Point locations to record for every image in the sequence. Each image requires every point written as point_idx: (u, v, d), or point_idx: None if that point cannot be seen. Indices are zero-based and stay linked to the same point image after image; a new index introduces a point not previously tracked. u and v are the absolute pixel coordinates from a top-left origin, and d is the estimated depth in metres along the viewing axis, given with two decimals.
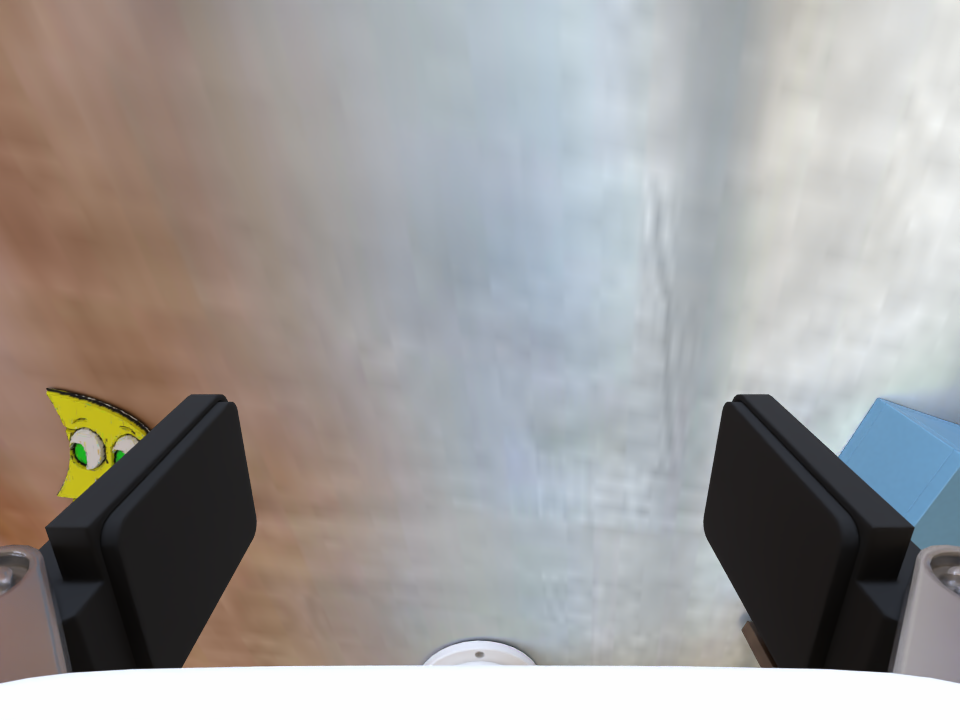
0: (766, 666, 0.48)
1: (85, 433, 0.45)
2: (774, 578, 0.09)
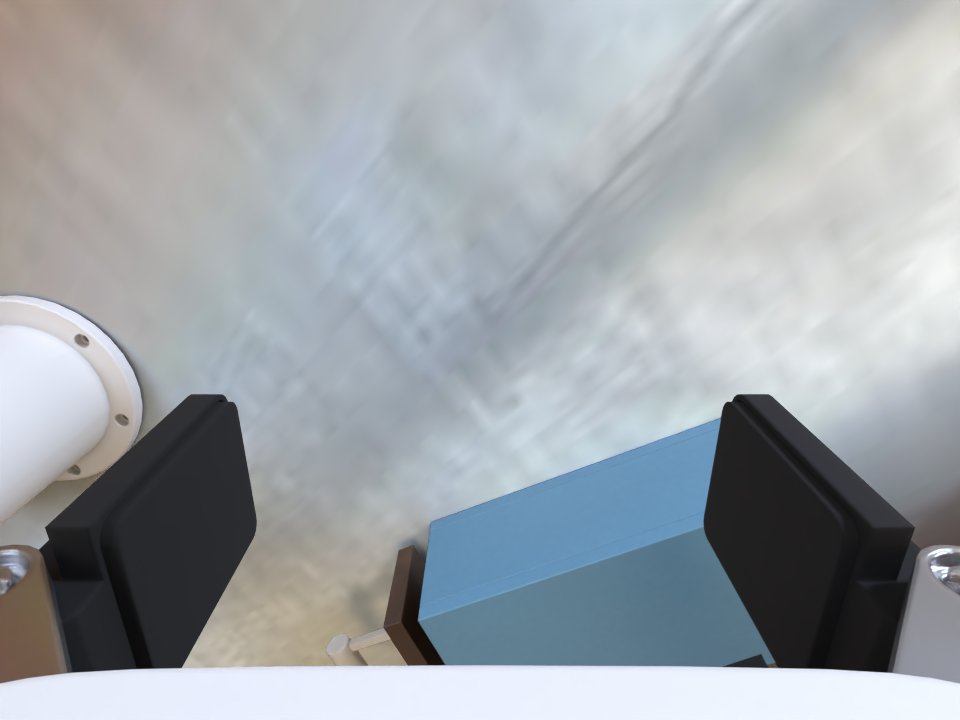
0: (398, 593, 0.37)
1: None
2: (775, 577, 0.09)
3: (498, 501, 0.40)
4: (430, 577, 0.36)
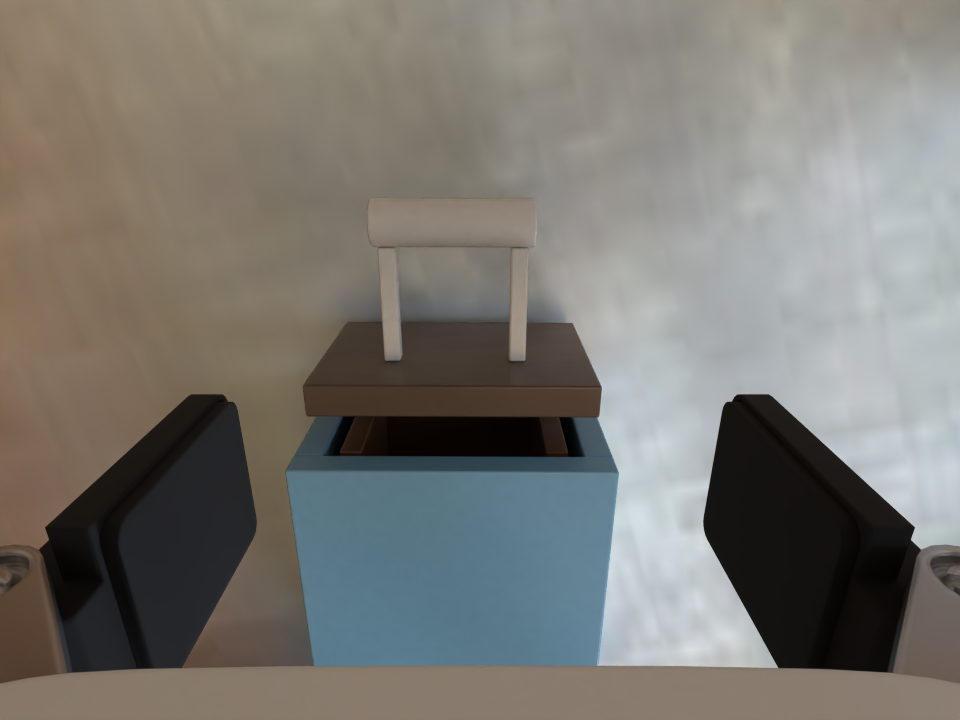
0: None
1: None
2: (775, 578, 0.09)
3: None
4: None
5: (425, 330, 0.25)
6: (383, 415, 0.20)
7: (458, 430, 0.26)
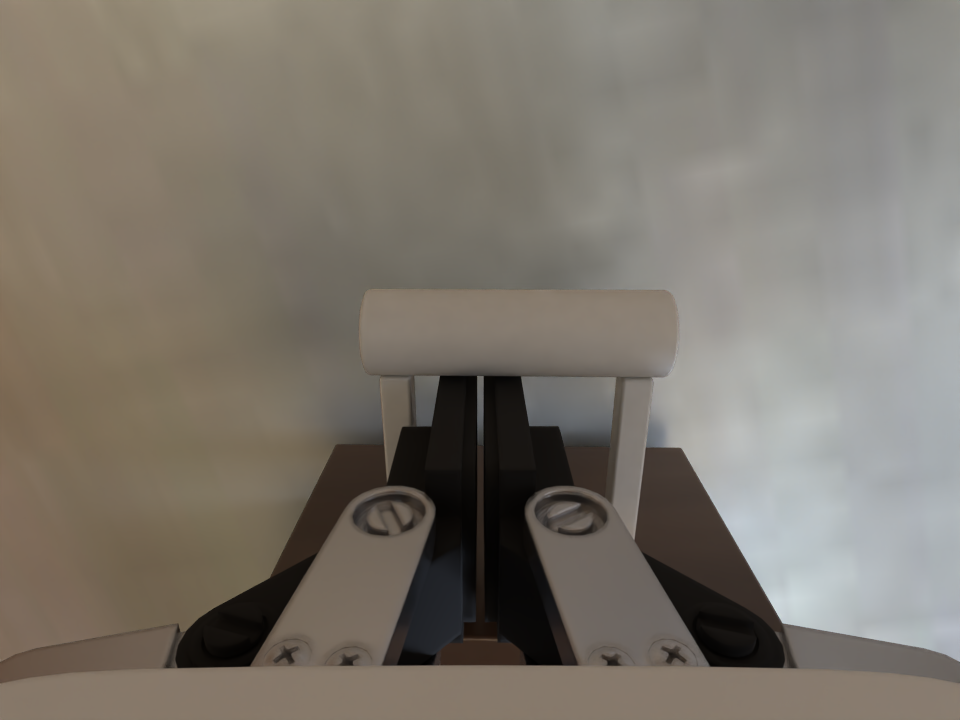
0: None
1: None
2: (484, 525, 0.10)
3: None
4: None
5: None
6: None
7: None
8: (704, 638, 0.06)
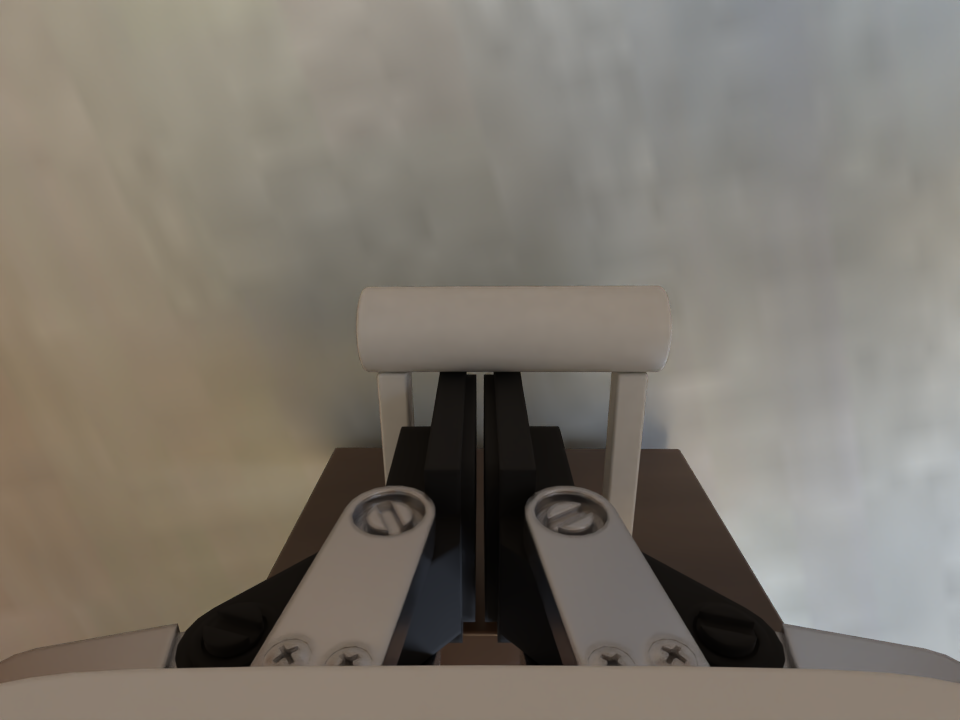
0: None
1: None
2: None
3: None
4: None
5: None
6: None
7: None
8: (704, 638, 0.06)
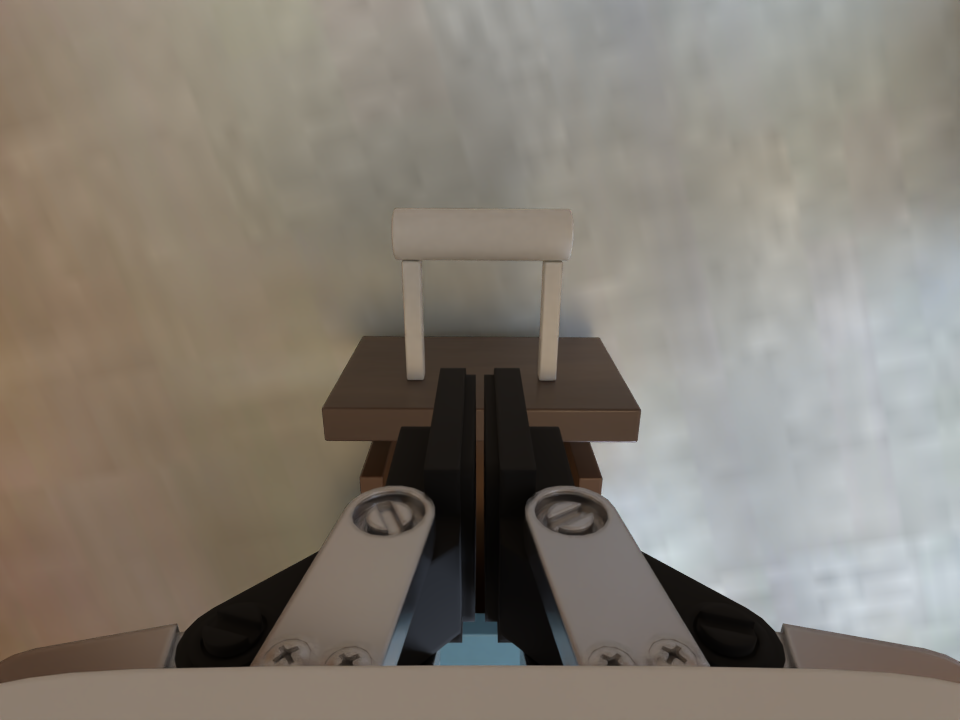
0: None
1: None
2: None
3: None
4: None
5: (446, 345, 0.23)
6: None
7: (479, 449, 0.25)
8: (704, 638, 0.06)
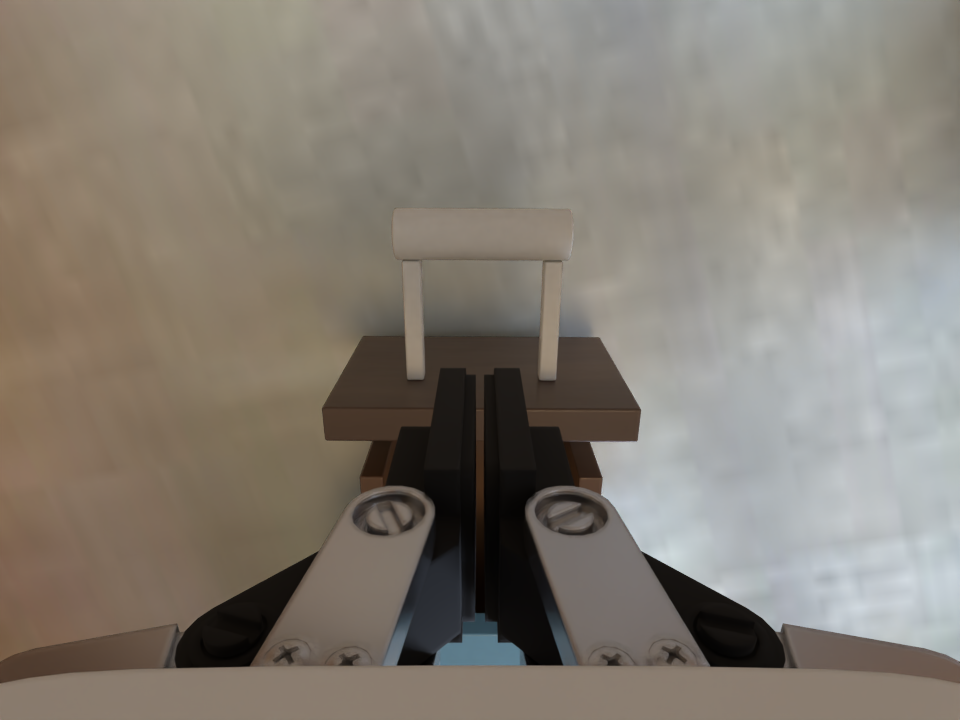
0: None
1: None
2: None
3: None
4: None
5: (446, 345, 0.23)
6: None
7: (479, 449, 0.25)
8: (704, 638, 0.06)
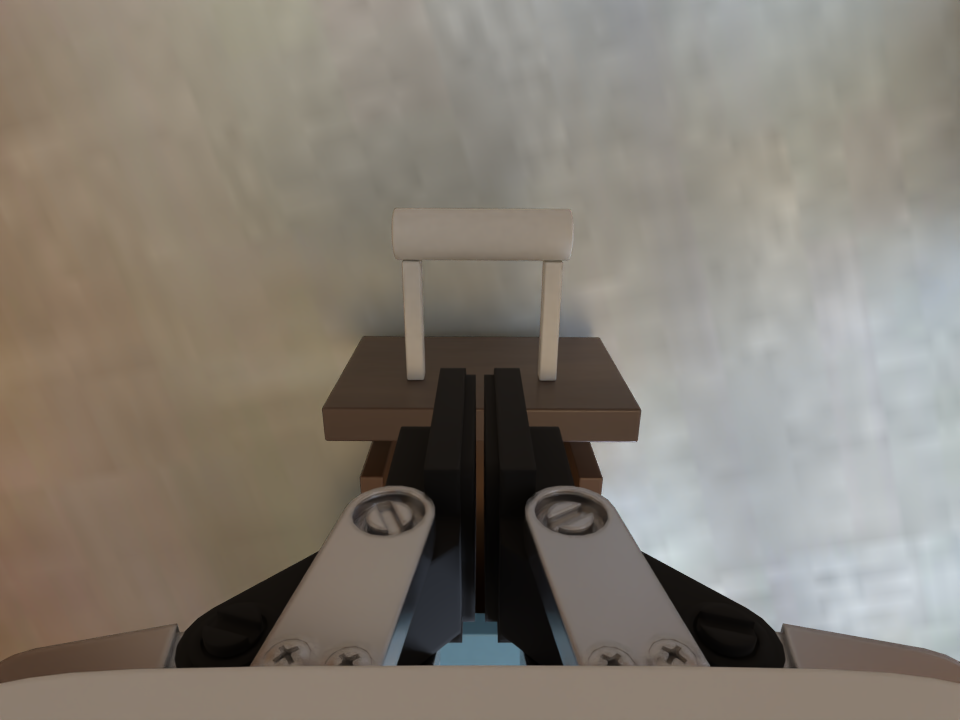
0: None
1: None
2: None
3: None
4: None
5: (446, 345, 0.23)
6: None
7: (479, 449, 0.25)
8: (704, 638, 0.06)
